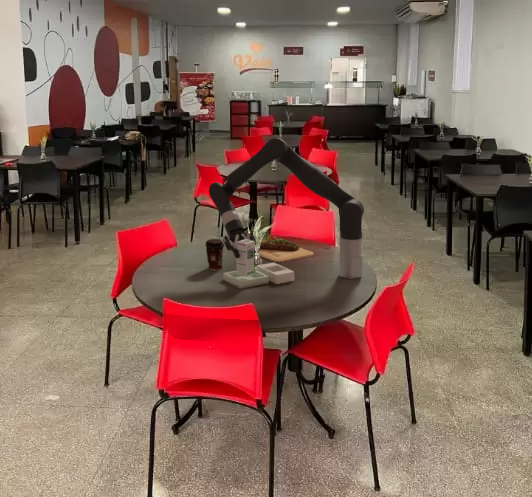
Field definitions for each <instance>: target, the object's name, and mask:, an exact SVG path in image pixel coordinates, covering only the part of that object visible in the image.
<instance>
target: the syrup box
mask: <svg viewBox="0 0 532 497" xmlns="http://www.w3.org/2000/svg"><path fill="white" fill-rule="evenodd" d="M236 249H237V250H238V252H239V255H240V257H239V258H238V259H237V258H236V271H237V274H238V275H241V276H245V277H248V276H250V275H253V274H255V270H256V255H255V241H253V240H250V239H249V240H248V239H244V240H241V241H238V242H236Z"/></svg>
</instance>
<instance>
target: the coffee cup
mask: <svg viewBox="0 0 532 497" xmlns="http://www.w3.org/2000/svg"><path fill="white" fill-rule="evenodd" d="M205 247H206V260H207V263H208V267H207V269H208V270H209V271H213V272H214V271H216V272H217V271H221V270H223V256H224V255H223V253H224V247H225V244H224V242H223V240H222V239H219V238H211V239H208V240H206V241H205Z"/></svg>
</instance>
